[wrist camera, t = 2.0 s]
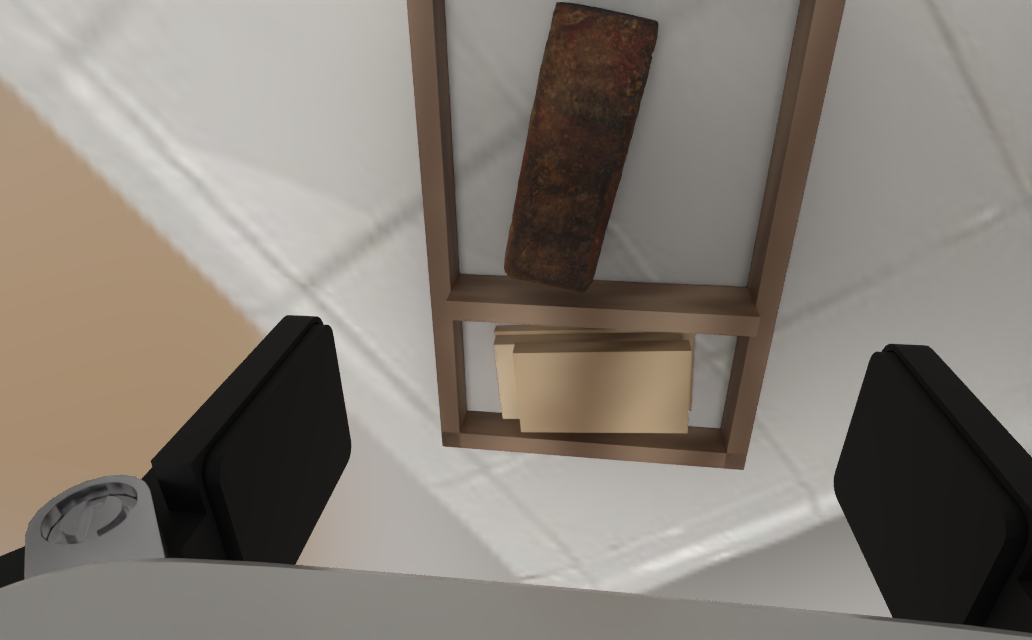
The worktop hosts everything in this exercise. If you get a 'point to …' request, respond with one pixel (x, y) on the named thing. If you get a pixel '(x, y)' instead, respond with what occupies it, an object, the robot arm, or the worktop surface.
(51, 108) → the worktop surface
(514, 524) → the worktop surface
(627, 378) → the offcut stack
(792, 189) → the rack
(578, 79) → the brick
